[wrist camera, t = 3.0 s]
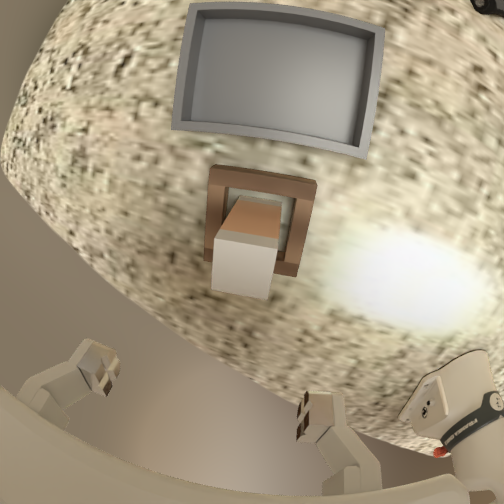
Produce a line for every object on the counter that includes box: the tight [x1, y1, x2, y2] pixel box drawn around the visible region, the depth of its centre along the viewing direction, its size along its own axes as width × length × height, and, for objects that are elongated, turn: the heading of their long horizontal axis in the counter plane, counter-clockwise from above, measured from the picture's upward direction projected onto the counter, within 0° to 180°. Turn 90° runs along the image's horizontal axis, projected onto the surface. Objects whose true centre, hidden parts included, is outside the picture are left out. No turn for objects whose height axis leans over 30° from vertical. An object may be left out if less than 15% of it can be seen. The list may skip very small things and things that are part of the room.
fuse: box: [211, 195, 282, 300], centre depth 22 cm, size 4×4×10 cm
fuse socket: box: [204, 164, 317, 277], centre depth 26 cm, size 9×9×2 cm
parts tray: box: [171, 2, 385, 159], centre depth 18 cm, size 12×16×4 cm
